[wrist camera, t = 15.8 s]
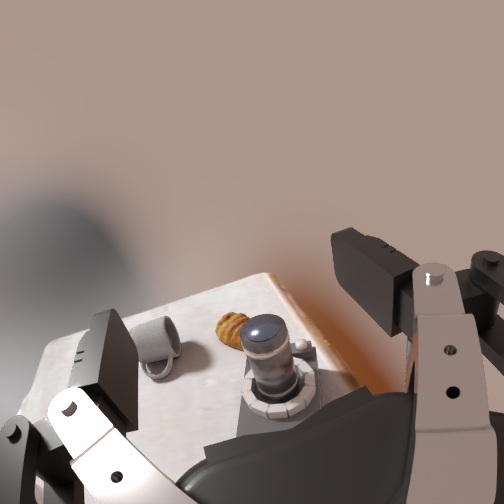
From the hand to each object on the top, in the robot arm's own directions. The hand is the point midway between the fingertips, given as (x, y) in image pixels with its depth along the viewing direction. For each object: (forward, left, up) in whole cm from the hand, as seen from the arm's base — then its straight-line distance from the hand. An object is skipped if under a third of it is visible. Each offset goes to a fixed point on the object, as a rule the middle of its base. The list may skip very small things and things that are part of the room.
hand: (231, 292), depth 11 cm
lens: (-3, +16, -27) cm, 32 cm away
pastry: (-12, +33, -32) cm, 48 cm away
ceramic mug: (-26, +28, -32) cm, 50 cm away
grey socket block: (-3, +16, -32) cm, 36 cm away
